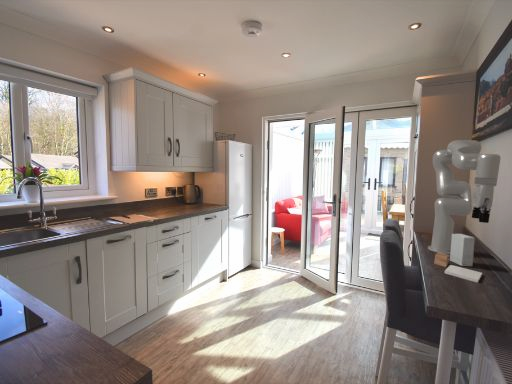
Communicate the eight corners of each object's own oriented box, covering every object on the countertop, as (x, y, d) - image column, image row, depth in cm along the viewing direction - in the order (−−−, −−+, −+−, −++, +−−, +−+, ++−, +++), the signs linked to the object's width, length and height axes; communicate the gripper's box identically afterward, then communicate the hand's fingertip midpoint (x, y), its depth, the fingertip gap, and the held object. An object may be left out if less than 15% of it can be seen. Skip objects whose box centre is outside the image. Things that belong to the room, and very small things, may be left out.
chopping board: (450, 267, 130) (450, 264, 130) (481, 275, 121) (482, 272, 121) (444, 273, 122) (444, 270, 122) (477, 282, 113) (478, 279, 113)
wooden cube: (436, 261, 137) (437, 252, 136) (448, 264, 133) (449, 255, 133) (434, 263, 134) (435, 254, 133) (445, 267, 130) (447, 257, 129)
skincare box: (472, 266, 132) (476, 237, 130) (460, 266, 132) (465, 237, 130) (459, 260, 140) (462, 233, 139) (448, 260, 140) (451, 232, 138)
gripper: (468, 180, 125) (463, 215, 127) (481, 182, 110) (475, 222, 112) (488, 181, 122) (483, 217, 124) (504, 184, 107) (498, 225, 109)
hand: (479, 220), depth 118 cm, fingers open, 9 cm apart
